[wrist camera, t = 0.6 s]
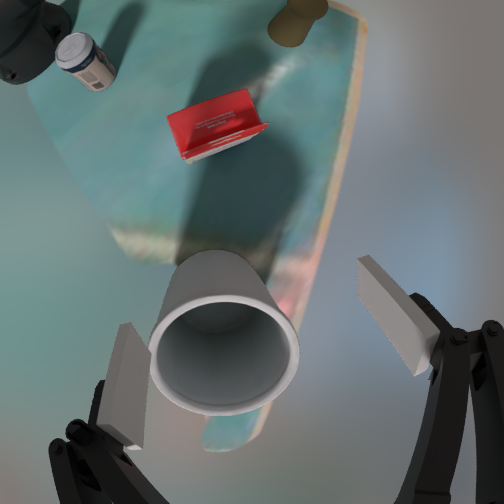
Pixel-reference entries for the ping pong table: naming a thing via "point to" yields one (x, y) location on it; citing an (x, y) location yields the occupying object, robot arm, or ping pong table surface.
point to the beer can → (85, 61)
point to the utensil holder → (221, 338)
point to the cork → (296, 21)
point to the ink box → (215, 125)
